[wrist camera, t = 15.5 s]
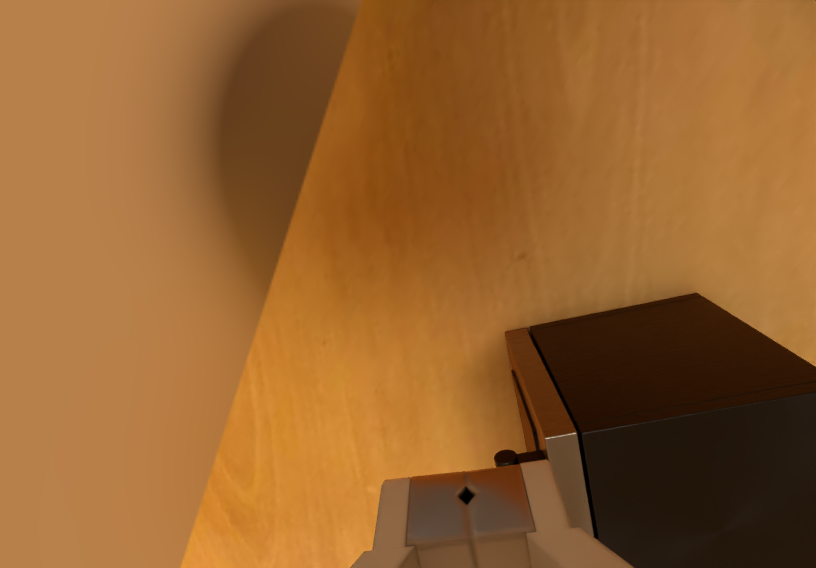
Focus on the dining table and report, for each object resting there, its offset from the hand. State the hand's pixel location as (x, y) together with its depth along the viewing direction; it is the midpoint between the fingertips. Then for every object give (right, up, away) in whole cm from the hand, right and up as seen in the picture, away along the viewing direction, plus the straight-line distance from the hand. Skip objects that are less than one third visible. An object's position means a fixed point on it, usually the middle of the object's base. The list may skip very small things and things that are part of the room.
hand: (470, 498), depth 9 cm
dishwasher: (+15, -4, +30) cm, 34 cm away
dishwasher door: (+7, -6, +31) cm, 32 cm away
